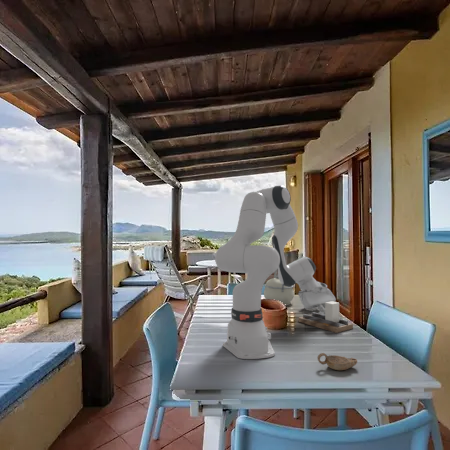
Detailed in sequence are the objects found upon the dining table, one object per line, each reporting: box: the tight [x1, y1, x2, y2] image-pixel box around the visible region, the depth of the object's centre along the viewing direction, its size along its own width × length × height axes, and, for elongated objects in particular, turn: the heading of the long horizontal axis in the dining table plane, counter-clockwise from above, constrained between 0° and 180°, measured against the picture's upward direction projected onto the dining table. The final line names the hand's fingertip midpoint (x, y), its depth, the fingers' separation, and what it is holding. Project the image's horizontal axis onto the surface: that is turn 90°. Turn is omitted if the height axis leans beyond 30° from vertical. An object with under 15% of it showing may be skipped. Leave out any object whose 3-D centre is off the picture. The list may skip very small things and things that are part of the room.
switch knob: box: [324, 301, 340, 323], centre depth 161 cm, size 4×5×9 cm
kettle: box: [263, 270, 295, 306], centre depth 213 cm, size 25×18×25 cm
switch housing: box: [298, 311, 354, 334], centre depth 164 cm, size 22×12×4 cm, turn 36°
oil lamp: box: [317, 352, 358, 371], centre depth 114 cm, size 13×8×5 cm, turn 91°
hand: (327, 313), depth 163 cm, fingers closed, pressing on switch knob
